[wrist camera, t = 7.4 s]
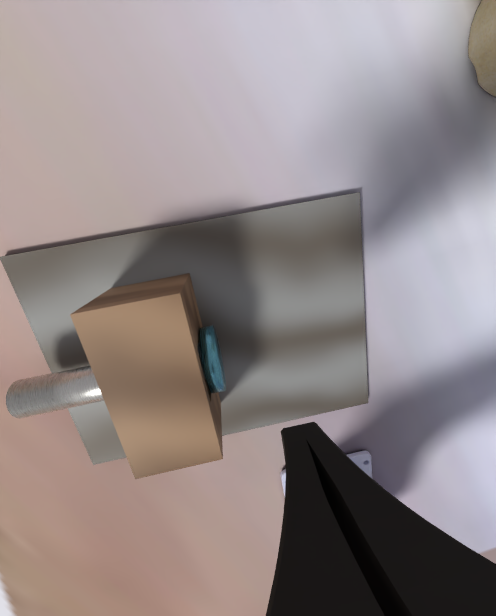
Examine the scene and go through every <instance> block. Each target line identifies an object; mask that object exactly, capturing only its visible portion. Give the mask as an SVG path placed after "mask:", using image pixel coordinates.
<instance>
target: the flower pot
mask: <svg viewBox="0 0 496 616" xmlns="http://www.w3.org/2000/svg"><path fill="white" fill-rule="evenodd" d="M468 54H469V58H470V60H471V61H472V63H473V65H474V67H475V69H476V73H477V79H478V84H479V85H480V86H481V87H482V88H483V89H484V90H485V91H486V92H488V93H489V94H491V95H493V96H496V0H482V1H481V3H480V5H479V7H478V9H477V11H476V14H475V16H474V19H473V22H472V26H471V30H470V36H469V44H468Z"/></svg>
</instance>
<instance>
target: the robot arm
mask: <svg viewBox="0 0 496 616" xmlns="http://www.w3.org/2000/svg"><path fill="white" fill-rule="evenodd" d="M281 435H282V442H283V449H284V456H285V462H286V469H284V470H283V471H282V472H281V480H282V486H283V491H284V497H285V504H284V515H283V524H282V532H281V539H280V546H279V552H278V558H277V564H276V570H275V575H274V580H273V585H272V589H271V594H270V599H269V604H268V608H267V613H266V616H496V564H495V563H493V562H491V561H490V560H488V559H486V558H485V557H483V556H481V555H480V554H478V553H476V552H475V551H473V550H471V549H470V548H468V547H466V546H465V545H463V544H462V543H460V542H459V541H457V540H456V539H454V538H452V537H451V536H449V535H448V534H446V533H445V532H443V531H442V530H440V529H439V528H437V527H436V526H434V525H432V524H431V523H429V522H428V521H426V520H425V519H424V518H422V517H421V516H419V515H418V514H417V513H415V512H414V511H412V510H411V509H410V508H408V507H407V506H406V505H404V504H403V503H402V502H400V501H399V500H398V499H396V498H395V497H394V496H392V495H391V494H390V493H389V492H387V491H386V490H385V489H384V488H383V487H381V486H380V485H379V484H378V483H377V482H375V481H374V480H373V479H372V463H371V455H370V453H369V452H368V451H360V452H356V453H352V454H347V455H346V454H345V453H344V452H343V451H342V450H341V449H340V448H339V447H338V446H337V445H336V444H335V443H334V442H333V441H332V440H331V439H330V438H329V437H328V436H327V435H326V434H325V433H324V432H323V430H322V429H321V428H320V427H319V426H318V425H317V424H316V423H315V422H311V423H306V424H302V425H297V426H292V427H288V428H283V430H282V431H281Z"/></svg>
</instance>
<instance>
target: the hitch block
mask: <svg viewBox="0 0 496 616" xmlns="http://www.w3.org/2000/svg"><path fill="white" fill-rule="evenodd" d="M0 260H1V262H2V264H3V266H4V268H5V271H6V273H7V275H8V277H9V279H10V282H11V284H12V286H13V288H14V291H15V293H16V295H17V297H18V299H19V302H20V304H21V306H22V308H23V310H24V313H25V315H26V317H27V319H28V321H29V324H30V326H31V328H32V330H33V333H34V335H35V337H36V339H37V341H38V344H39V346H40V348H41V350H42V352H43V355H44V357H45V359H46V361H47V363H48V366H49V368H50V370H51V372H52V373H56V372H61V371H65V370H70V369H75V368H80V367H85V366H91V369H92V371H93V374H94V376H95V379H96V381H97V384H98V386H99V389H100V391H101V394H102V396H103V399H104V401H100V402H96V403H91V404H86V405H82V406H77V407H72V408H68V410H69V412H70V414H71V417H72V419H73V421H74V423H75V425H76V428H77V430H78V432H79V434H80V436H81V439H82V441H83V443H84V445H85V447H86V450H87V452H88V454H89V456H90V459H91V461H92V463H93V465H95V464H99V463H104V462H108V461H112V460H117V459H121V458H126V457H127V459H128V462H129V464H130V467H131V469H132V472H133V474H134V477H135V479H138V478H142V477H147V476H151V475H155V474H160V473H164V472H168V471H173V470H177V469H181V468H186V467H190V466H194V465H199V464H203V463H208V462H212V461H216V460H221V459H223V452H222V436H224V435H228V434H232V433H237V432H241V431H246V430H250V429H255V428H259V427H264V426H268V425H272V424H277V423H281V422H286V421H290V420H295V419H299V418H304V417H308V416H312V415H317V414H321V413H326V412H330V411H335V410H339V409H344V408H348V407H352V406H357V405H361V404H366V403H368V384H367V359H366V334H365V309H364V284H363V259H362V234H361V209H360V192H358V193H352V194H347V195H341V196H336V197H330V198H325V199H319V200H313V201H308V202H302V203H297V204H291V205H286V206H280V207H275V208H269V209H263V210H258V211H252V212H247V213H241V214H236V215H230V216H224V217H219V218H213V219H208V220H202V221H197V222H191V223H186V224H180V225H174V226H169V227H163V228H158V229H152V230H147V231H141V232H136V233H130V234H124V235H119V236H113V237H108V238H102V239H97V240H91V241H85V242H80V243H74V244H69V245H63V246H58V247H52V248H47V249H41V250H35V251H30V252H24V253H19V254H13V255H8V256H2V257H0ZM212 325H214V327H215V330H216V333H217V337H218V341H219V346H220V350H221V355H222V361H223V367H224V373H225V381H226V391H222V392H217V393H211V392H210V390H209V387H208V384H207V381H206V379H205V378H204V374H203V370H202V366H201V362H200V358H199V354H198V350H197V347H198V343H200V342H199V329H200V328H202V327H207V326H212Z"/></svg>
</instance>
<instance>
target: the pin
mask: <svg viewBox="0 0 496 616" xmlns="http://www.w3.org/2000/svg"><path fill="white" fill-rule="evenodd" d="M199 342H200V343H198V347H197V350H198V354H199V358H200V362H201V366H202V370H203V374H204V378H205V379H206V381H207V384H208V387H209V390H210V392H211V393H217V392H222V391H226V381H225V373H224V367H223V361H222V355H221V350H220V346H219V341H218V337H217V333H216V330H215V327H214V325H212V326H207V327H202V328H200V329H199ZM100 401H104V399H103V396H102V394H101V391H100V389H99V386H98V384H97V381H96V379H95V376H94V374H93V371H92V369H91V366H85V367H80V368H75V369H70V370H65V371H61V372H56V373H51V374H46V375H41V376H36V377H31V378H26V379H21V380H17V381H15V382H14V383H13V384H12V385H11V386H10V388H9V389H8V392H7V395H6V405H7V408H8V411H9V412H10V414H11V415H12V416H14V417H16V418H25V417H30V416H35V415H39V414H44V413H49V412H53V411H58V410H63V409H68V408H72V407H77V406H82V405H86V404H91V403H96V402H100Z"/></svg>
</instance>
